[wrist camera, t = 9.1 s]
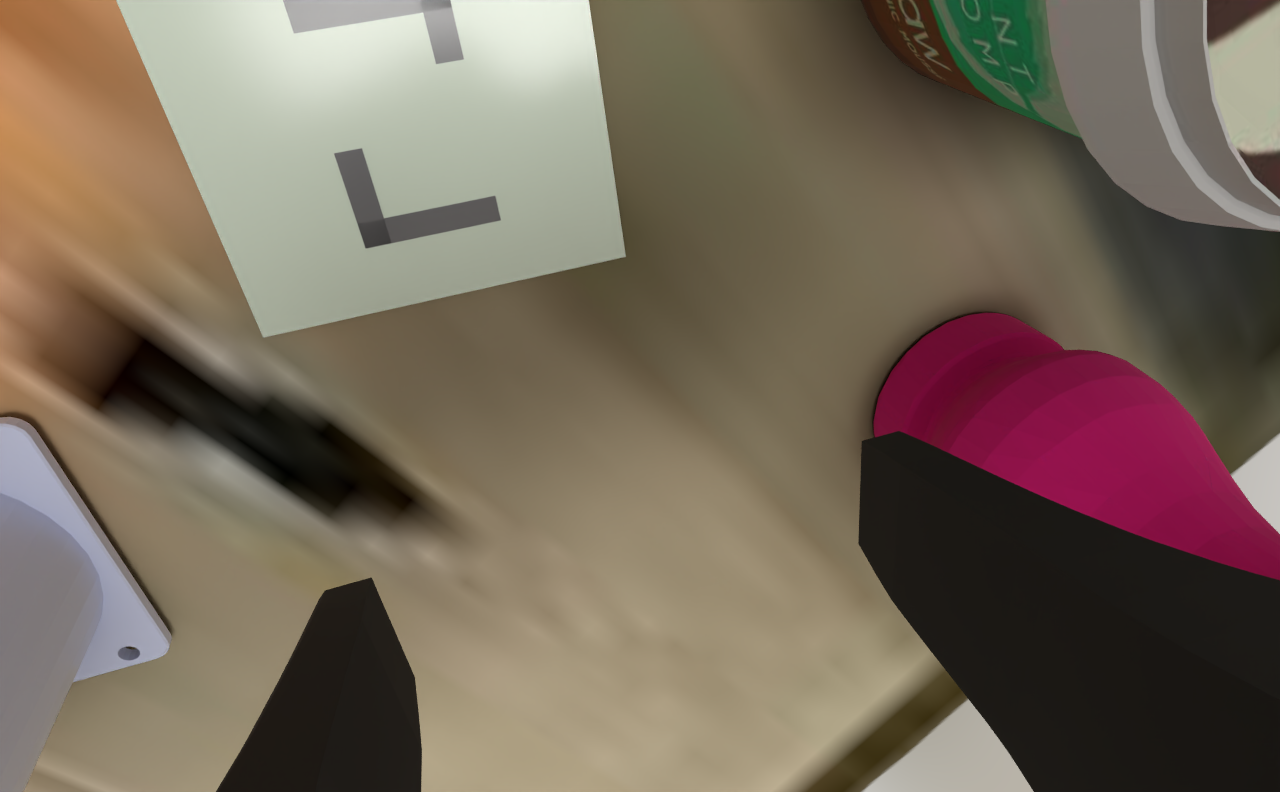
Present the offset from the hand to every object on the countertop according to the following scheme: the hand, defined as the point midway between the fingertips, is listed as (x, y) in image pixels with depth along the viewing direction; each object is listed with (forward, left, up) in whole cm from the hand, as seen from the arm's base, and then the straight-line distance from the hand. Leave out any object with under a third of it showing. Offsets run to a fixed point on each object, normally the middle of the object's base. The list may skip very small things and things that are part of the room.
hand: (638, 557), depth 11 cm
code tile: (-2, +5, -10) cm, 12 cm away
